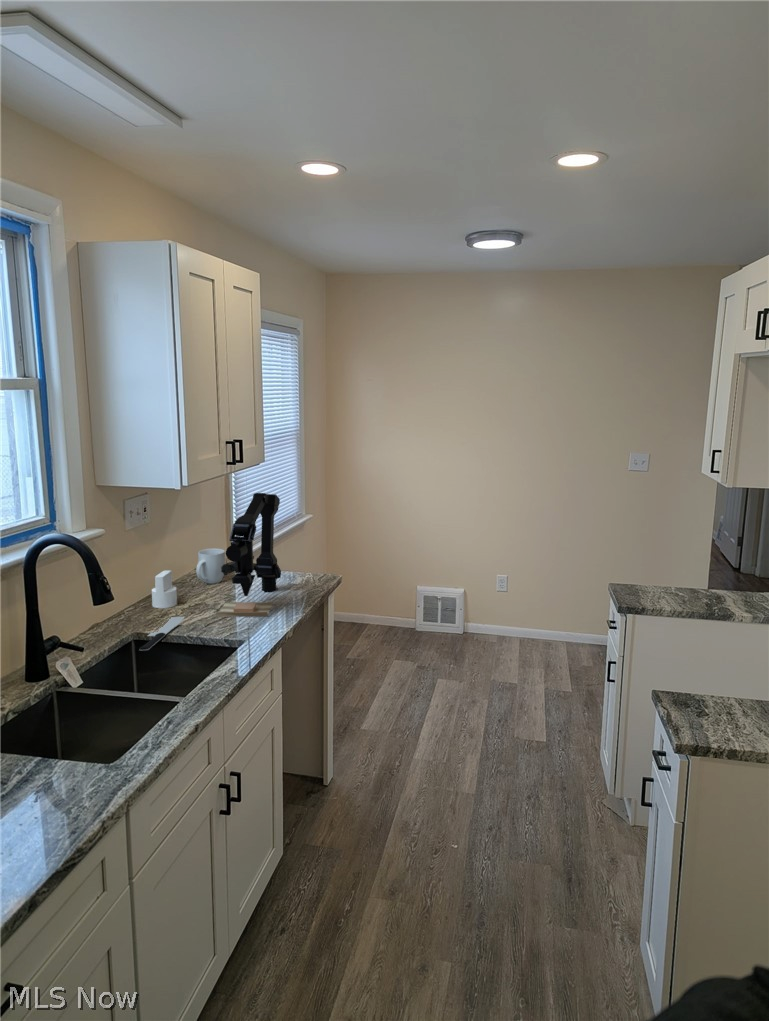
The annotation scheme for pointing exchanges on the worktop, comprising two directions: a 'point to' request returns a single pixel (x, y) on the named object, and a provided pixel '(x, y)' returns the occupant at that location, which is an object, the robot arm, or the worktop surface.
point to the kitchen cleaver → (161, 633)
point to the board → (260, 611)
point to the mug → (210, 565)
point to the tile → (245, 607)
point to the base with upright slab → (164, 591)
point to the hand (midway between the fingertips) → (246, 595)
